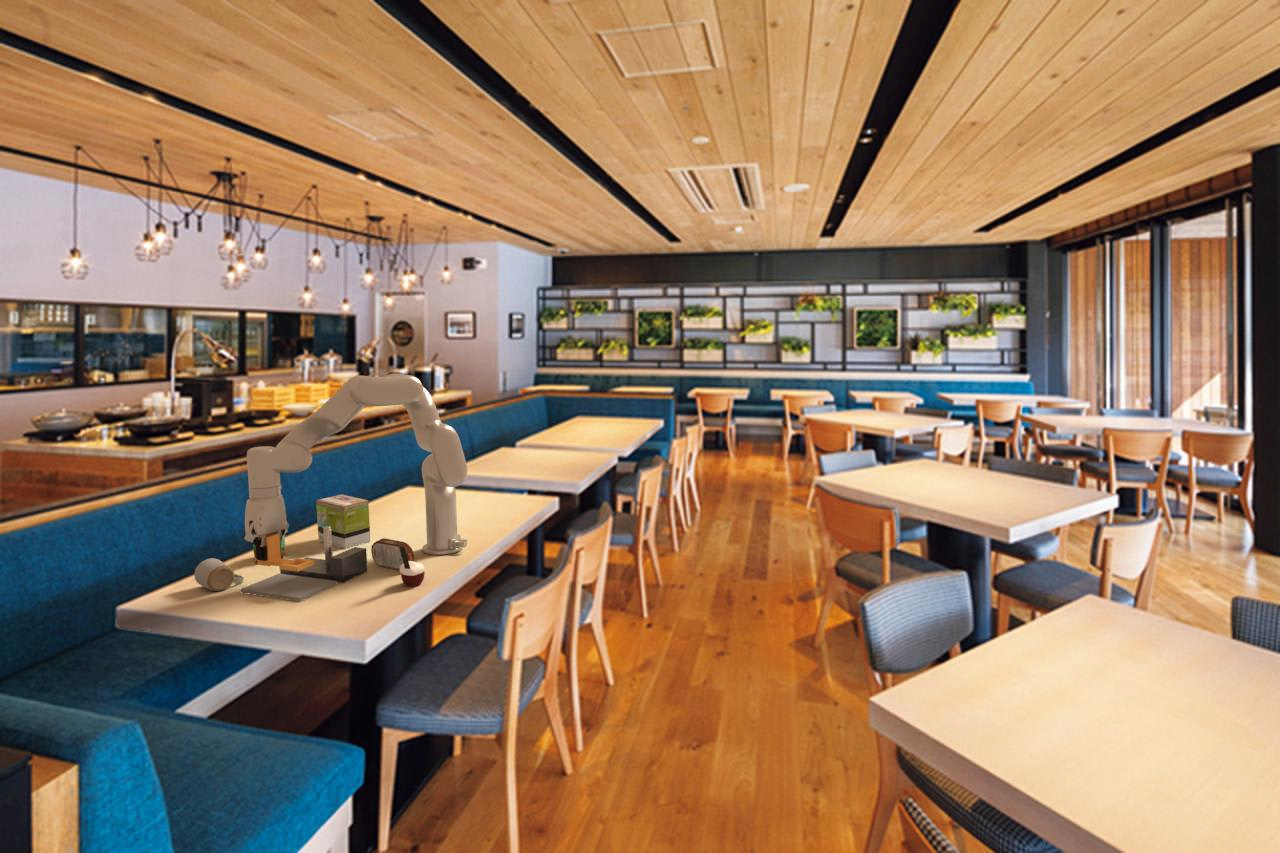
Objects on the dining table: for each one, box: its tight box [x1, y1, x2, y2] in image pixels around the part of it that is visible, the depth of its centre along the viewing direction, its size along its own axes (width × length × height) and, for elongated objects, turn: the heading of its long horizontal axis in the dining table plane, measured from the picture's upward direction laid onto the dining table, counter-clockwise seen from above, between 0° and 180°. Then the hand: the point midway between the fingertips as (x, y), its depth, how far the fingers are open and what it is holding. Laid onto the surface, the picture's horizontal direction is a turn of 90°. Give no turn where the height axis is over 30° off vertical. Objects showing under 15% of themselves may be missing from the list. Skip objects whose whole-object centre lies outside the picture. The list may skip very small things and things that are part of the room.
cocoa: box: [399, 547, 426, 587], centre depth 189 cm, size 10×6×12 cm, turn 146°
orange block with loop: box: [257, 533, 315, 572], centre depth 185 cm, size 14×6×8 cm, turn 73°
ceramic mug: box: [193, 557, 245, 592], centre depth 187 cm, size 11×8×8 cm
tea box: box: [315, 493, 371, 550], centre depth 228 cm, size 15×10×15 cm, turn 58°
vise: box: [279, 526, 368, 584], centre depth 197 cm, size 22×10×14 cm, turn 73°
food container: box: [252, 529, 288, 564], centre depth 210 cm, size 12×6×10 cm, turn 168°
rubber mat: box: [239, 573, 337, 602], centre depth 186 cm, size 20×13×1 cm, turn 73°
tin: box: [370, 537, 415, 571], centre depth 202 cm, size 15×3×8 cm, turn 65°
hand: (269, 556), depth 186 cm, fingers closed on orange block with loop, 4 cm apart
